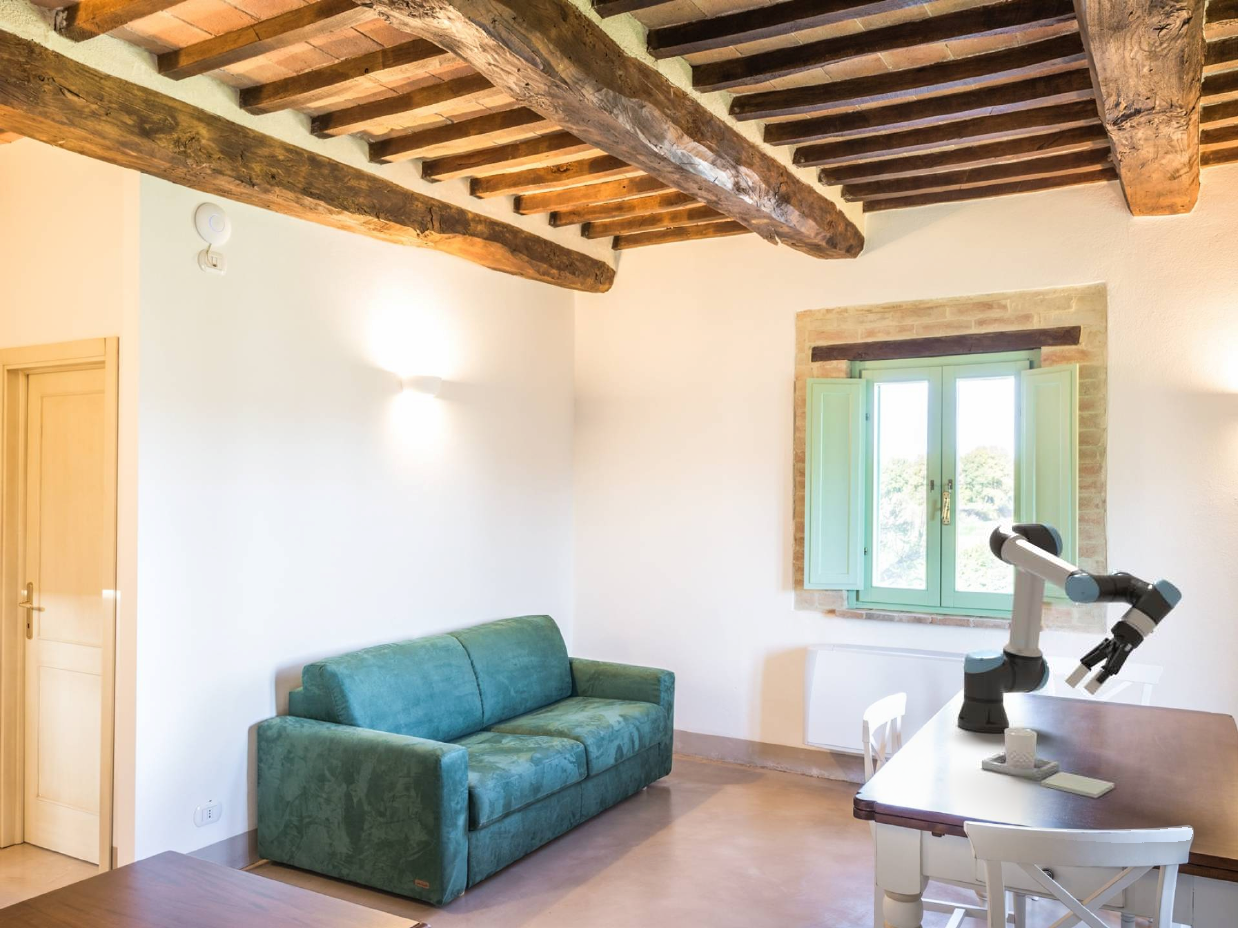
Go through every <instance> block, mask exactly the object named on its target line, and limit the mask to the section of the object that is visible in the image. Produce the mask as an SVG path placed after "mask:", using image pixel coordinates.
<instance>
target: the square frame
mask: <svg viewBox="0 0 1238 928" xmlns="http://www.w3.org/2000/svg"><path fill="white" fill-rule="evenodd" d="M1004 762H1006V750H1005V751H1002V752H999V753H997V754H995V755H992V756H990V757H988V758H985V759H982V760H981V769H984V770H988V771H992V772H996V773H997V772H998V773H1001V774H1005V775H1009V776H1013V777H1018V778H1023V779H1027V780H1032V781H1036V782H1038V781H1039V780H1041V779H1043V778H1046V777H1048V776H1050V775H1052V774H1054V773H1056V772H1058V771H1059V762H1058V761H1057V762H1056V761H1052V760H1048V759H1043V758H1038V757H1035V761H1034V767H1037V768H1038V769H1034V771H1032V770H1027V769H1023V768H1018V767H1014V766H1009V765H1006V764H1005V763H1004Z"/></svg>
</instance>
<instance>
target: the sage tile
mask: <svg viewBox="0 0 1238 928" xmlns="http://www.w3.org/2000/svg"><path fill="white" fill-rule="evenodd" d="M1040 785H1041V786H1042V787H1046V788H1051V789H1055V790H1059V791H1065V792H1068V793H1072V794H1076V795H1081V796H1085V797H1090V798H1093V799H1097V798H1099V797H1100V796H1103V795H1104V794H1106V793H1108V792H1109V791H1111V790H1113V789H1114V788H1115V783H1114V782H1109V781H1105V780H1102V779H1101V780H1100V779H1098V778H1097V779H1096V778H1091V777H1086V776H1083V775H1078V774H1073V773H1068V772H1063V771H1060V772H1057V773H1056V774H1053V775H1051V776H1049V777H1047V778H1045V779H1044V780H1041V782H1040Z"/></svg>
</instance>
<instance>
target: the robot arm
mask: <svg viewBox="0 0 1238 928" xmlns="http://www.w3.org/2000/svg"><path fill="white" fill-rule="evenodd" d="M988 543H989V548H990V550H991V553H992V554H993V555H994V556H995V557H996V558H997V559H998V560H1000V561H1002V562H1004V563H1006V564H1007V565H1010V566H1013V567H1014V569H1016V572H1015V582H1014V591H1013V602H1012V608H1011V609H1012V611H1011V621H1010V630H1009V639H1008V640H1009V641H1008V643H1006V644H1005V645H1003V648H1002V652H1001V651H998V650H977V651H972V652H969V653H967V654H966V655H965V657H964V663H963V672H964V673H963V676H964V677H963V702H962V704H961V707H960V710H959V713H958V716H957V726H958V727H960V728H962V729H964V730H968V731H973V732H979V733H987V734H1001V733H1005V729H1007V728H1010V722H1009V721H1010V720H1009V718H1008V715H1007V710H1006V708H1005V705H1004V694H1012V693H1013V694H1014V693H1015V694H1016V693H1023V694H1024V693H1025V694H1026V693H1027V694H1030V693H1032V692H1038V691H1040V690H1041V689H1043V688H1044V687H1046V685H1047V683H1048V681H1049V678H1050V667H1049V666H1048V661H1047V659H1046V658H1045V657H1044V652H1043V651H1042V650H1041V649H1040V647H1039V645H1040V643H1039V642H1040V633H1041V622H1042V615H1043V614H1042V613H1043V605H1044V593H1045V585H1046V582H1048V583H1050V584H1051V585H1054V586H1055V587H1056V588H1057V587H1058V588H1059V589H1061V590H1062V591H1064V592H1065V594H1066V596H1067V597H1068V599H1069V600H1070V601H1072V602H1073V603H1078V604H1079V603H1081V604H1085V605H1086V604H1102V603H1103V604H1104V603H1105V604H1106V603H1108V604H1109V603H1112V604H1113V603H1117V604H1118V603H1124V604H1127V605H1129V606H1131V607H1129V608H1128V610H1126V612H1125V613H1124V614H1123V615H1122V616H1120V619H1121V620H1118V621H1117V622H1116V623H1115V624H1114V625H1113V626H1112V628H1110V633H1111V634H1112V635H1113V637H1112V638H1111V639H1109V638H1108V637H1105V638H1104V639H1103V640H1102V641H1101V642H1100V643H1099V644H1098V645H1096V646H1095V647H1094V648H1093V649H1092V650H1090V651H1089V652H1088V653H1086V654H1085V655H1084V656H1083V657H1081V658H1080V660H1079V662H1080V664H1078V666H1077V667H1075V669H1074V670H1073V672H1072V673H1071V674H1069V676H1068V677H1067V678H1066V679H1065V680H1064V682H1065V683H1066V684H1067V685H1069V686H1070V688H1072V689H1075V688H1076V687H1077V685H1078V684H1080V682H1081V681H1082V680H1083V679H1084V678H1085V677H1086V676H1087V675H1088V673H1090V672H1092V670H1093V667H1095V666H1096V665H1098V664H1099V663H1101V662H1102V661H1104V660H1105V663H1104V664H1103V665H1101V666H1100V669H1099V670H1098V671H1097V672H1096V673H1095V674H1094V675H1093V676H1092V678H1091V679H1089V681H1088V682H1087V683H1086V684H1084V686H1083V689H1085V690H1086V691H1087V692H1088V693H1089V694H1091V695H1092V696H1093V695H1095V694H1096V693H1097V692H1098V690H1099V689H1100V688H1101V687H1102V686H1103V685H1104V684H1105V683H1106V681H1107V680H1108V679H1110V677H1112V676H1113V675H1114V676H1117V675H1119V672H1120V670H1121V669H1122V667H1123V665H1124V664H1125V662H1126V661H1127V659H1128V657H1129V656H1130V654H1131V653H1132V651H1134V650H1135V649H1137V648H1139V646H1140V645H1141V644H1142V643H1143V642H1144V641H1145V638H1147V637H1148V636H1149V635H1150V634H1153V633H1154V632H1155V631H1154V630H1155V628H1156V627H1157V626H1158V625H1159V624H1160V623H1161V621H1163V620H1164V619H1165V618H1166V616H1167V615H1168V614H1170V612H1172V611H1173V610H1174V608H1175V607H1176V606H1177V604H1179V602H1180V601H1181V599H1182V597H1183V595H1182V593H1181V590H1179V588H1178V587H1177V586H1176V585H1174V584H1173V583H1172V582H1170V581H1168V580H1165V579H1164V578H1157V579H1155V580H1154V581H1153V582H1152V583H1150V582H1147V581H1145V580H1142V579H1141V578H1139V577H1137V576H1135V575H1133V574H1131V573H1129V572H1126V571H1122V570H1118V569H1117V570H1116V569H1115V570H1112V571H1111V572H1108V573H1107V574H1093V573H1090V572H1089V571H1087V570H1084V569H1083V568H1080V567H1079V566H1076V565H1074V564H1072V563H1070V562H1069V561H1066V560H1064V559H1062V557H1061V555H1062V553H1063V550H1064V549H1063V547H1064V543H1063V540H1062V537H1061V535H1060V533H1059V532H1058V530H1057V529H1056V528H1055V527H1054V526H1053V525H1051V524H1048V523H1040V522H1039V523H1038V522H1006V523H1003V524H1000V525H999V526H997V527H995V529H994V530H993V531H992V533H991V534H990V536H989V541H988Z"/></svg>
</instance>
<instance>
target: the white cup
mask: <svg viewBox="0 0 1238 928" xmlns="http://www.w3.org/2000/svg"><path fill="white" fill-rule="evenodd" d="M1037 735H1038V732H1037V731H1034V730H1033V729H1032V730H1031V729H1027V728H1022V727H1021V728H1020V727H1009V728H1007V729H1005V732H1004V747H1005V748H1004V750H1005V751H1006V761H1005V763H1006V764H1005V765H1009V766H1014V767H1018V768H1023V769H1027V770H1032V771H1035V766H1034V761H1035V758H1036V753H1037V737H1038V736H1037Z"/></svg>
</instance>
